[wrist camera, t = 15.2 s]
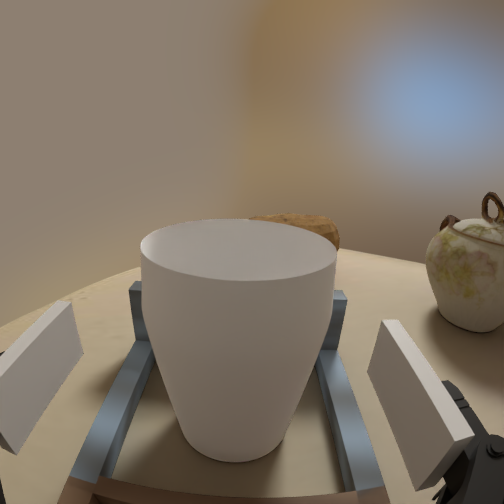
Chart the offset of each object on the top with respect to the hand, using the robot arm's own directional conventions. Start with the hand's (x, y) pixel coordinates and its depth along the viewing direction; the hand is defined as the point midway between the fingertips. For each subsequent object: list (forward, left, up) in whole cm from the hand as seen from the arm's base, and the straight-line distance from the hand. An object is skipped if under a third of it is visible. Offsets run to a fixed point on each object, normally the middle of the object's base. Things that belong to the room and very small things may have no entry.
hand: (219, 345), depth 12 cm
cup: (+2, -3, -9) cm, 9 cm away
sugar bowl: (-8, -32, -9) cm, 34 cm away
